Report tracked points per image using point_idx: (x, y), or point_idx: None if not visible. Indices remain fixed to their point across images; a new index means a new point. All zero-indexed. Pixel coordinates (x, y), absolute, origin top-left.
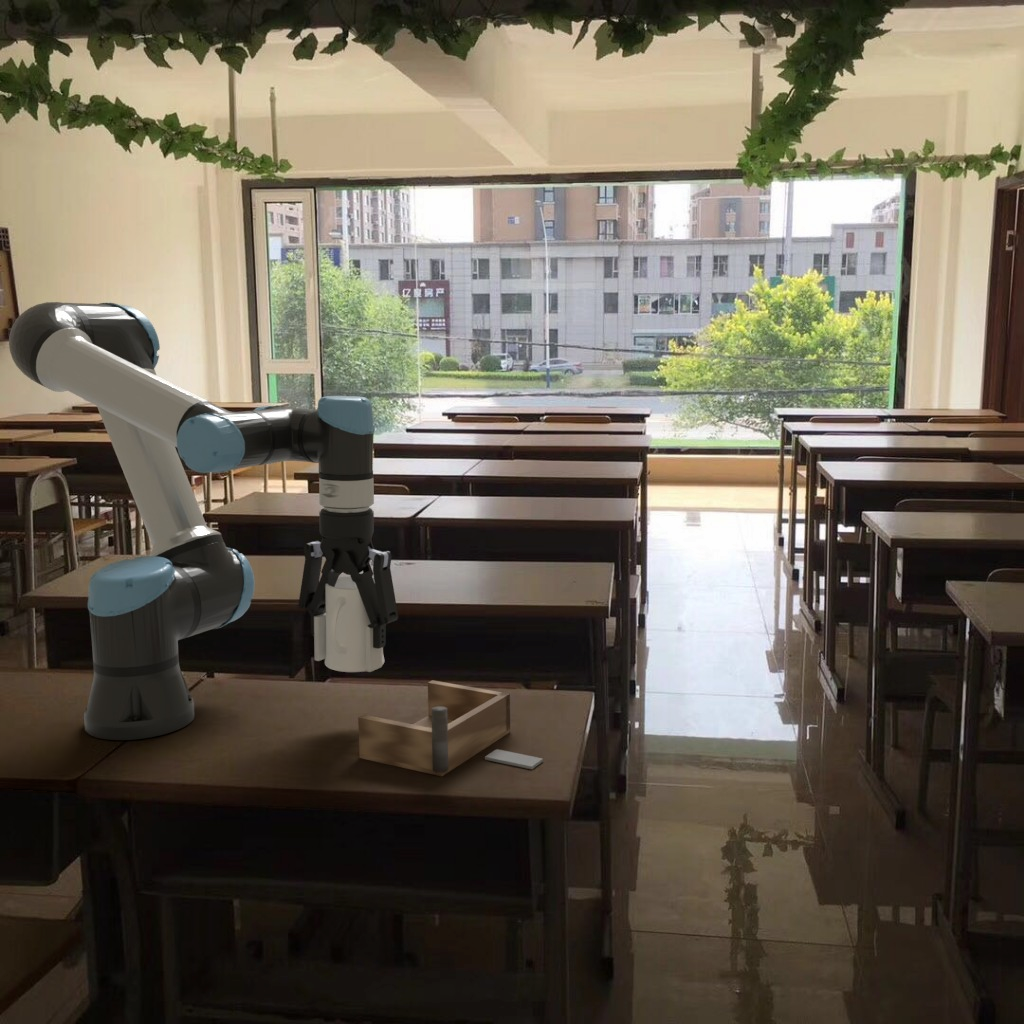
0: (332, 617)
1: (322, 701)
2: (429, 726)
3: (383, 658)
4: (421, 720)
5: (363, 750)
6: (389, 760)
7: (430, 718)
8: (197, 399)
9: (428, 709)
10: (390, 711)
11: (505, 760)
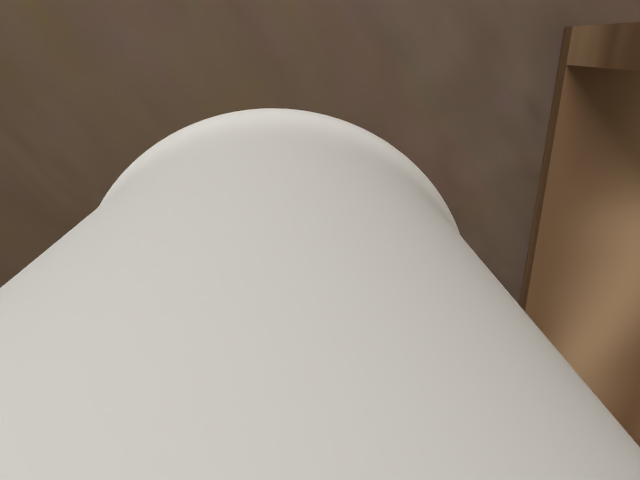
0: None
1: (12, 77)
2: (620, 173)
3: (455, 229)
4: (563, 130)
5: None
6: None
7: (589, 92)
8: None
9: (579, 64)
10: (356, 49)
11: None
